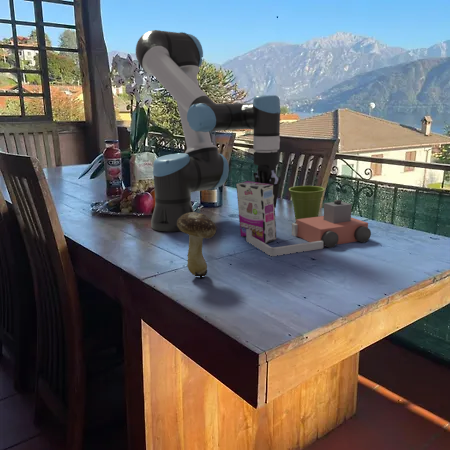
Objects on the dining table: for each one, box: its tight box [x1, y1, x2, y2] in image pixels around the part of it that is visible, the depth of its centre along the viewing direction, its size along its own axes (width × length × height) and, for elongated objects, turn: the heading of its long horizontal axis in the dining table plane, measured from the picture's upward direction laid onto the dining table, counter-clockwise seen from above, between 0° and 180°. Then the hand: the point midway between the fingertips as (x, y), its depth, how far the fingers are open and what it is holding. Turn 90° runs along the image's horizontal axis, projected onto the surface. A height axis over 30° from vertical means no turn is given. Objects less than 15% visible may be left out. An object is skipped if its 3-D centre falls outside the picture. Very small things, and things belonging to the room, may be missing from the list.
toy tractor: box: [245, 199, 372, 257], centre depth 129 cm, size 32×17×11 cm, turn 112°
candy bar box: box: [235, 180, 278, 244], centre depth 131 cm, size 11×5×16 cm, turn 39°
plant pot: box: [288, 185, 326, 221], centre depth 151 cm, size 12×12×11 cm
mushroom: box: [177, 211, 217, 277], centre depth 102 cm, size 9×9×15 cm
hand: (266, 229), depth 136 cm, fingers closed
